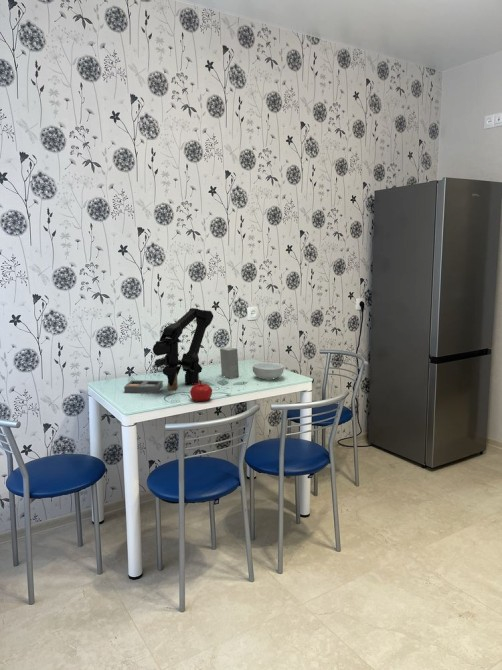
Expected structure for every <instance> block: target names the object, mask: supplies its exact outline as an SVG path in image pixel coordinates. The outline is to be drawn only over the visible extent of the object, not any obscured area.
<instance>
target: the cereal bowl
mask: <svg viewBox="0 0 502 670" xmlns="http://www.w3.org/2000/svg"><path fill="white" fill-rule="evenodd" d="M284 368H285V365H283V364H281V363H277V362H267V361H266V362H264V361H263V362H256V363H253V364H252V373H253V374H254V375H255V376H257V377H258V378H260V379H261V378H263V379H262V380H264V379H273V378H275V379H276V378H279V377H281V376H282V375H283V374H284ZM273 380H274V379H273Z"/></svg>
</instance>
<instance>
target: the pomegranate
mask: <svg viewBox="0 0 502 670" xmlns="http://www.w3.org/2000/svg"><path fill="white" fill-rule="evenodd" d="M194 384H196V385H192V387H191V389H190V392H189V393H190V397H191V399H192V400H193V401H194V402H207V401H209V400H210V399H211V397H212V395H213V389H212V387H211V386H210V385H209V384H208V383H205V382H204V383H202V380H200V379H199V384H198V383H194Z"/></svg>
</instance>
